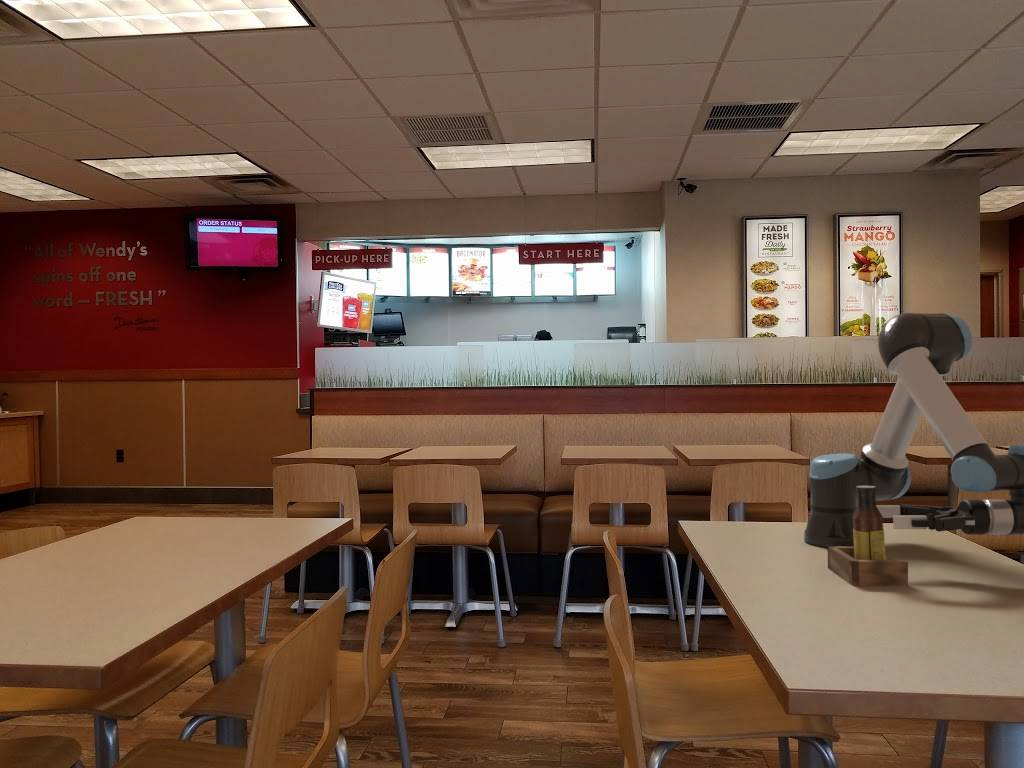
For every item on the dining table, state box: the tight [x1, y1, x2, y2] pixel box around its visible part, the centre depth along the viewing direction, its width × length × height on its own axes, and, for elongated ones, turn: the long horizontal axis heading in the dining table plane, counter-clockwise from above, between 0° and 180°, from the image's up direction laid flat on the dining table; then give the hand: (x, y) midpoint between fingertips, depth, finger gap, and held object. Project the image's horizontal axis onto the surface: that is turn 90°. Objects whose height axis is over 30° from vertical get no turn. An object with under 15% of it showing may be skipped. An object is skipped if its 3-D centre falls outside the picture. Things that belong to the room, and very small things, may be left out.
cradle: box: [827, 546, 909, 587], centre depth 168 cm, size 12×15×5 cm
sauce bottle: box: [853, 485, 887, 560], centre depth 168 cm, size 6×6×20 cm
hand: (881, 516), depth 167 cm, fingers open, 13 cm apart
